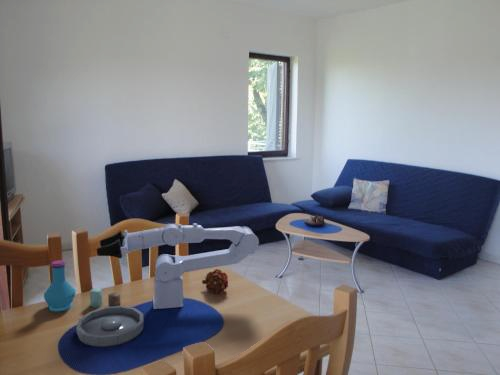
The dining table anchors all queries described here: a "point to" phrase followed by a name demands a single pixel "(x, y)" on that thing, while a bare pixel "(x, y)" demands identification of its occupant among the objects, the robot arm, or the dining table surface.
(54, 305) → the perfume bottle
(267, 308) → the dining table surface
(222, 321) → the dining table surface
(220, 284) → the brown pine cone
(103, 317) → the tray
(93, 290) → the bead teal
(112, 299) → the bead walnut
